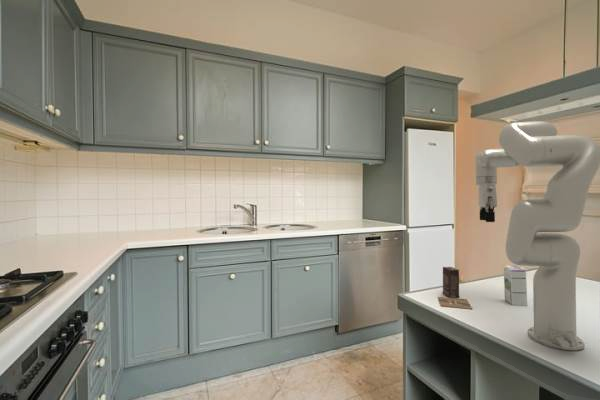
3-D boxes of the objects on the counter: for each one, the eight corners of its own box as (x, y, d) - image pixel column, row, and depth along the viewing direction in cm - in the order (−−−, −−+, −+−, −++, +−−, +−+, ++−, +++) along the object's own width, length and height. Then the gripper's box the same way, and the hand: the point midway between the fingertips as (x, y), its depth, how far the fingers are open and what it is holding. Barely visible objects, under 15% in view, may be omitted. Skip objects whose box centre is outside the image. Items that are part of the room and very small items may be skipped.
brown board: (472, 309, 110) (472, 308, 110) (440, 306, 114) (440, 305, 114) (466, 299, 121) (466, 299, 121) (437, 297, 124) (437, 296, 124)
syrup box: (528, 305, 113) (527, 268, 113) (510, 305, 114) (510, 268, 114) (520, 300, 118) (519, 265, 118) (503, 300, 119) (503, 264, 119)
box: (460, 298, 123) (459, 269, 123) (449, 298, 123) (448, 270, 123) (452, 293, 129) (451, 266, 129) (442, 293, 129) (441, 266, 129)
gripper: (503, 179, 115) (503, 222, 115) (490, 181, 131) (491, 219, 131) (481, 180, 117) (481, 222, 117) (471, 182, 134) (472, 219, 134)
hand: (486, 221), depth 124 cm, fingers open, 9 cm apart
